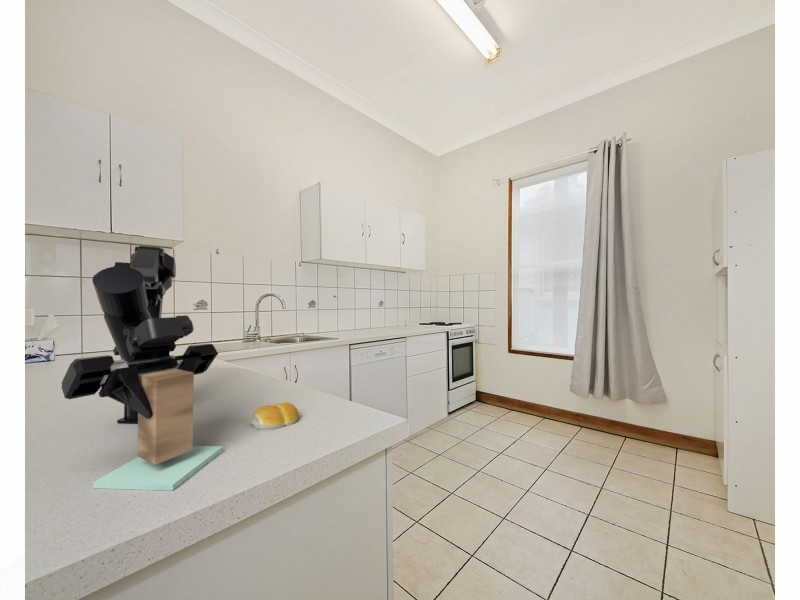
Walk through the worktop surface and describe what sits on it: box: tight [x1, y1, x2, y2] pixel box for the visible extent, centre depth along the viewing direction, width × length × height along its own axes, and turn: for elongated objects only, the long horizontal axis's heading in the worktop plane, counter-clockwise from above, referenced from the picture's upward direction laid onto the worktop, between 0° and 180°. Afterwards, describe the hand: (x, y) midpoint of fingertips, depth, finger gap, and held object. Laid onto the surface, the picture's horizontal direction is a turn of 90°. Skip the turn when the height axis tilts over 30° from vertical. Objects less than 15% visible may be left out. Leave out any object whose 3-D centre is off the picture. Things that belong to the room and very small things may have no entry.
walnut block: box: [136, 369, 195, 465], centre depth 47 cm, size 5×5×12 cm
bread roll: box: [250, 402, 300, 431], centre depth 66 cm, size 8×9×4 cm
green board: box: [92, 445, 224, 492], centre depth 47 cm, size 11×11×1 cm
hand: (171, 410), depth 47 cm, fingers closed on walnut block, 5 cm apart
